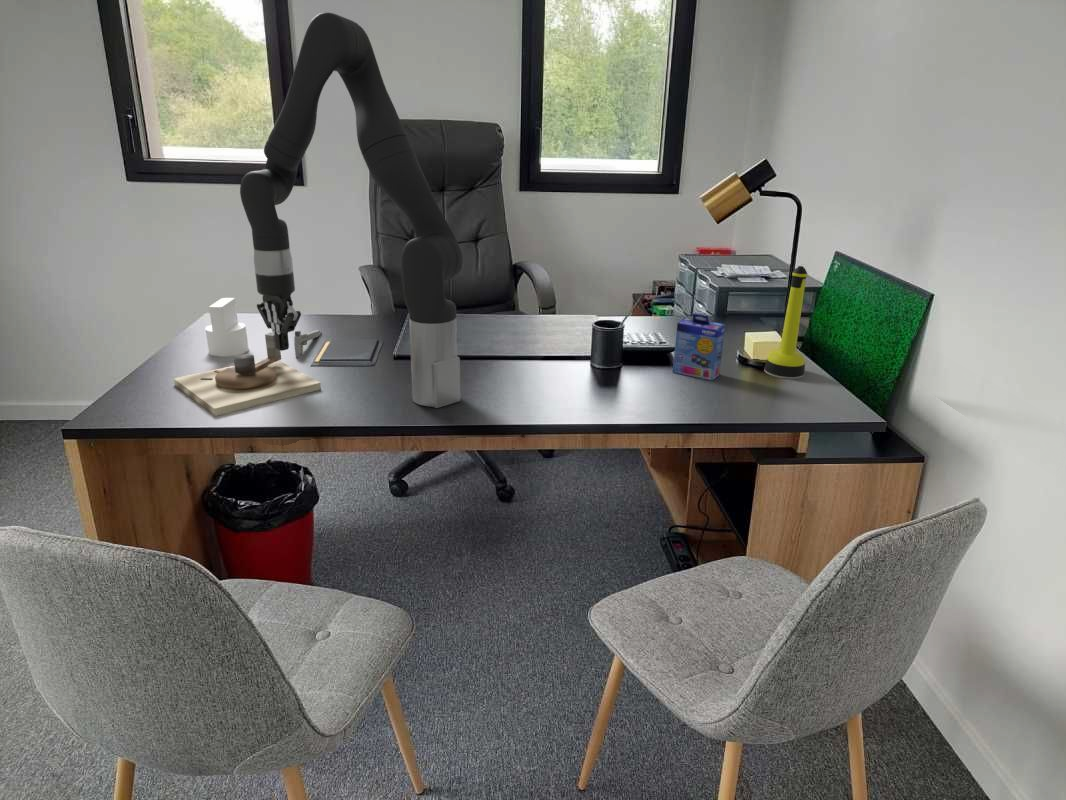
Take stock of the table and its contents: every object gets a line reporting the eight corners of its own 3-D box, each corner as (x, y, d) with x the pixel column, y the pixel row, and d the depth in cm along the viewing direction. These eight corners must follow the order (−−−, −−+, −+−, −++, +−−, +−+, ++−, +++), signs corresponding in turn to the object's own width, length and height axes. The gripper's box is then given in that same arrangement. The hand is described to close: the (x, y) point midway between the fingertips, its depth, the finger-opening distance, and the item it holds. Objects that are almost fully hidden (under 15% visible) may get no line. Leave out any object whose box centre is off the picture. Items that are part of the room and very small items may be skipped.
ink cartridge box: (671, 373, 166) (677, 312, 161) (679, 366, 170) (685, 307, 165) (712, 381, 161) (720, 318, 156) (720, 374, 166) (727, 313, 160)
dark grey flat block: (373, 361, 165) (306, 361, 164) (374, 369, 166) (307, 369, 165) (385, 336, 184) (325, 336, 183) (386, 343, 184) (326, 343, 183)
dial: (253, 391, 144) (248, 358, 141) (202, 384, 147) (197, 352, 144) (301, 365, 159) (298, 335, 157) (254, 359, 162) (251, 330, 160)
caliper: (300, 359, 170) (297, 333, 168) (295, 358, 170) (293, 333, 168) (321, 334, 190) (319, 310, 187) (317, 334, 190) (315, 310, 187)
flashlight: (829, 270, 155) (812, 262, 163) (789, 269, 155) (774, 261, 163) (810, 378, 164) (795, 366, 173) (772, 378, 164) (758, 366, 172)
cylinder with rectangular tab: (216, 345, 178) (209, 297, 174) (253, 345, 179) (247, 298, 174) (202, 356, 170) (195, 306, 165) (241, 356, 170) (234, 307, 166)
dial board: (320, 389, 151) (320, 381, 151) (215, 415, 137) (214, 407, 136) (274, 363, 166) (273, 356, 165) (174, 385, 152) (173, 377, 151)
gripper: (308, 272, 149) (316, 351, 155) (271, 263, 156) (279, 339, 163) (277, 277, 143) (286, 360, 150) (239, 268, 151) (249, 347, 157)
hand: (282, 349), depth 156 cm, fingers closed
